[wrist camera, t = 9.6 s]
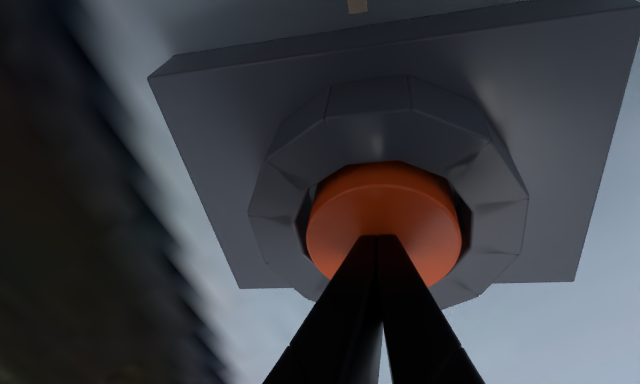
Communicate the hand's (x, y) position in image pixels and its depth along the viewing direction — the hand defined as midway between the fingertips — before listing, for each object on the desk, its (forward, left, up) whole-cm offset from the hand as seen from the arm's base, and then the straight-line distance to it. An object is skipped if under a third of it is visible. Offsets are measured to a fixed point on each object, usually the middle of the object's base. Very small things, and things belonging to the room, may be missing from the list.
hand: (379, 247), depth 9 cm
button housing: (0, 0, -4) cm, 4 cm away
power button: (0, 0, -2) cm, 2 cm away
